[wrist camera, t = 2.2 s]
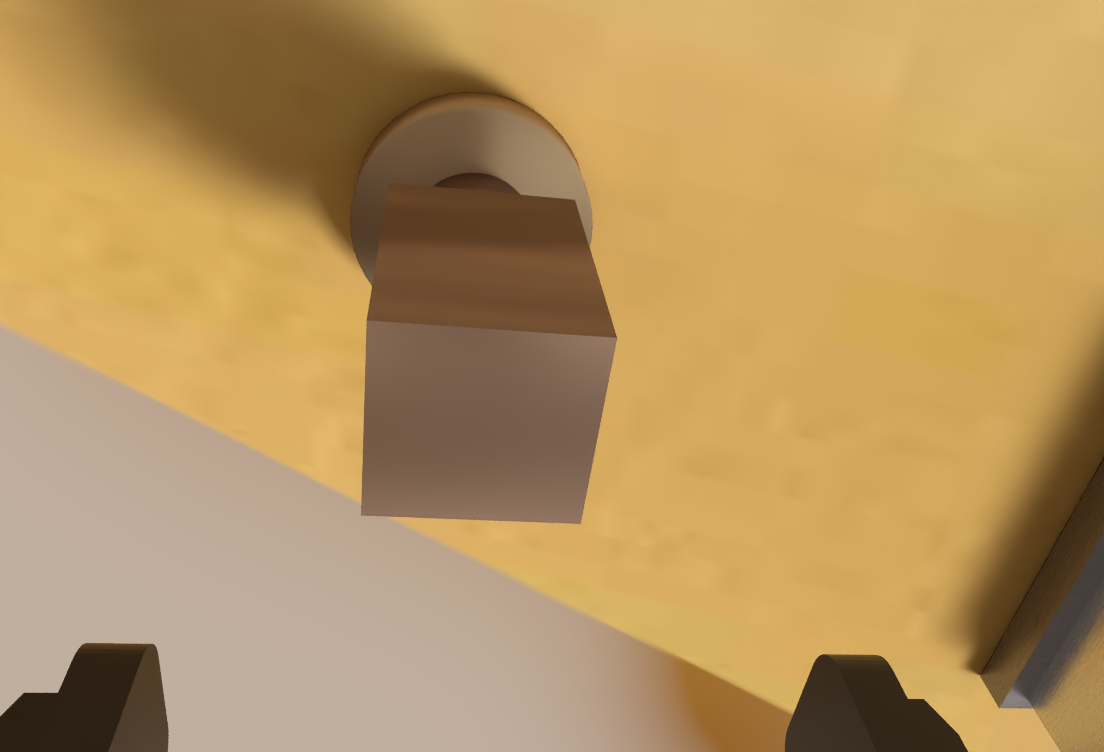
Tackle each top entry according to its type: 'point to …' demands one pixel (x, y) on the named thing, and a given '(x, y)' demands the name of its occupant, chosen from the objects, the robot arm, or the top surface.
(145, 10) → the top surface
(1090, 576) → the track
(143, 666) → the robot arm
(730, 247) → the top surface
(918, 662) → the top surface
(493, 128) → the headed peg
